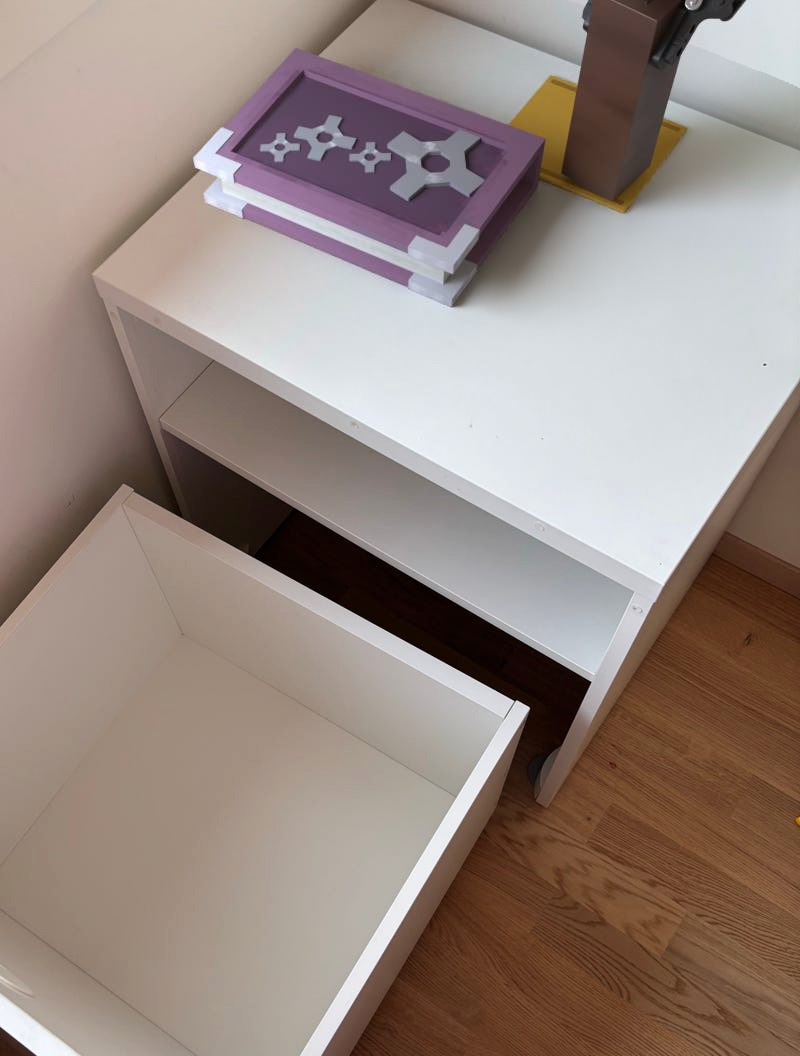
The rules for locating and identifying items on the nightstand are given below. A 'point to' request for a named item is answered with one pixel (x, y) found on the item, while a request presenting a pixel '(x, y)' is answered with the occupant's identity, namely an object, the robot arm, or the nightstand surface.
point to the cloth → (552, 122)
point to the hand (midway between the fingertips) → (623, 48)
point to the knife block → (619, 95)
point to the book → (373, 173)
